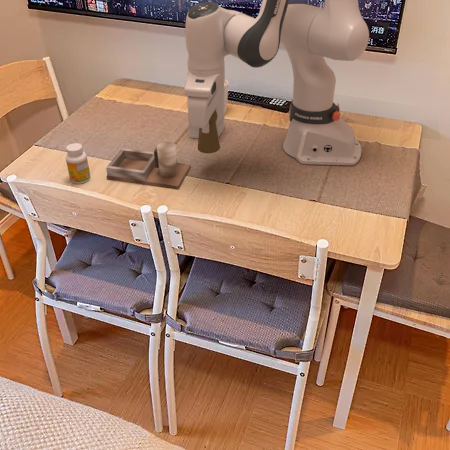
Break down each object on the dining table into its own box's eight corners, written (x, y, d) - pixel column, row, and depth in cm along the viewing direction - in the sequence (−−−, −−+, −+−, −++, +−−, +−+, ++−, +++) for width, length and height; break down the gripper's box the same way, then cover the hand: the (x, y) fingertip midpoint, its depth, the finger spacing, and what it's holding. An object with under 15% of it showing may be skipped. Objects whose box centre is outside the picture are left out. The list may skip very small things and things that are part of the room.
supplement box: (197, 124, 166) (196, 78, 157) (225, 128, 164) (225, 82, 155) (188, 137, 159) (186, 91, 150) (216, 141, 157) (216, 94, 148)
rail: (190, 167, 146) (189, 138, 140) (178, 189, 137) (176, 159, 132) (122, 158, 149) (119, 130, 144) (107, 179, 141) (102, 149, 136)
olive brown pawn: (223, 143, 142) (222, 106, 135) (215, 155, 138) (213, 117, 131) (202, 140, 144) (200, 102, 137) (193, 151, 139) (191, 113, 132)
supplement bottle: (66, 177, 142) (59, 145, 136) (85, 171, 144) (79, 139, 138) (75, 186, 138) (68, 154, 132) (94, 179, 141) (88, 147, 135)
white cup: (228, 117, 170) (228, 87, 164) (203, 116, 170) (202, 87, 164) (228, 106, 176) (228, 77, 170) (204, 106, 176) (203, 77, 170)
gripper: (205, 57, 136) (207, 107, 145) (181, 92, 121) (186, 144, 130) (229, 59, 135) (230, 109, 144) (208, 94, 120) (211, 147, 128)
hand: (209, 126), depth 136 cm, fingers closed on olive brown pawn, 4 cm apart
